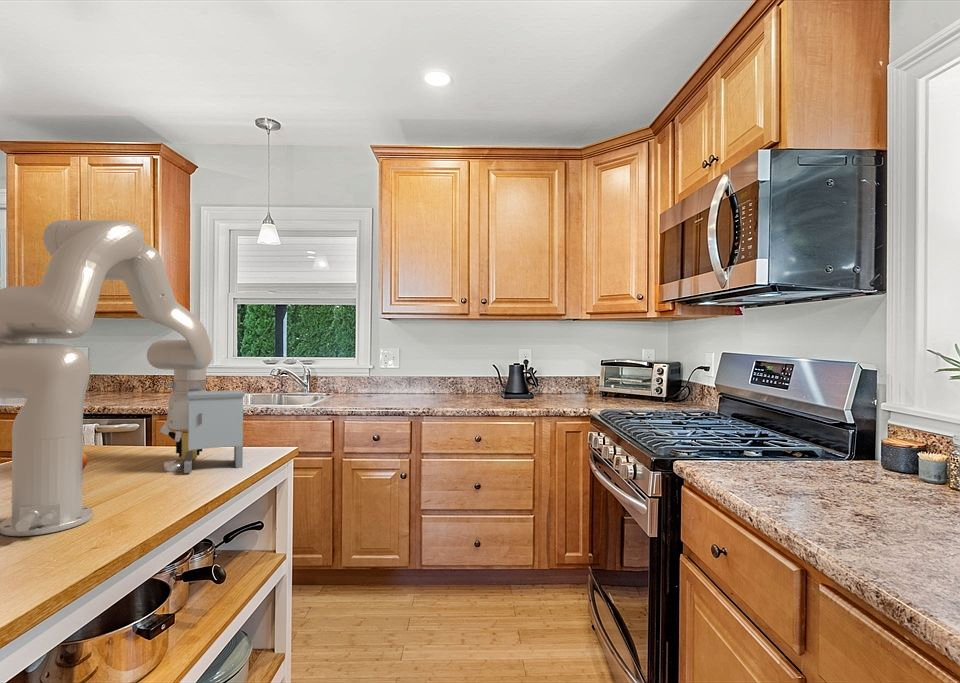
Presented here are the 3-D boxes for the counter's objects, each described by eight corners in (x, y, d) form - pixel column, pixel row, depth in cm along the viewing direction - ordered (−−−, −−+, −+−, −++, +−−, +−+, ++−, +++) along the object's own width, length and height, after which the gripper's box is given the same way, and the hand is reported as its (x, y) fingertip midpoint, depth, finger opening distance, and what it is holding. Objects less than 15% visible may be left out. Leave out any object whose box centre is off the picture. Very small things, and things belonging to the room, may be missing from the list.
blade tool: (196, 471, 125) (196, 442, 125) (179, 473, 123) (179, 443, 123) (196, 455, 141) (197, 430, 141) (182, 456, 139) (182, 430, 139)
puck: (184, 471, 127) (184, 463, 127) (162, 473, 125) (162, 465, 125) (185, 467, 131) (185, 459, 131) (164, 469, 129) (164, 461, 129)
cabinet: (243, 467, 131) (244, 393, 131) (186, 473, 125) (187, 395, 125) (241, 460, 139) (242, 390, 139) (187, 465, 133) (188, 391, 133)
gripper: (152, 389, 131) (151, 461, 132) (225, 387, 139) (224, 455, 139) (154, 386, 138) (154, 455, 138) (224, 384, 146) (223, 449, 146)
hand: (189, 454), depth 139 cm, fingers closed on blade tool, 3 cm apart
